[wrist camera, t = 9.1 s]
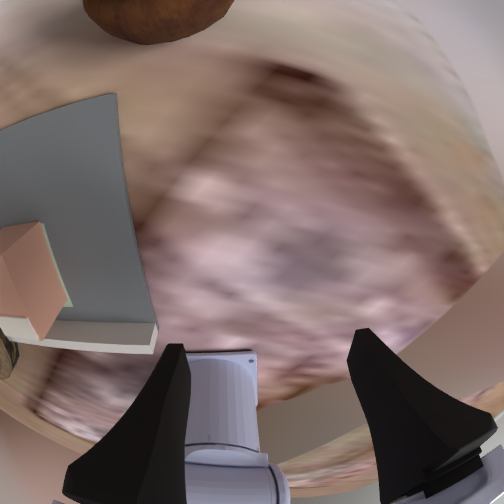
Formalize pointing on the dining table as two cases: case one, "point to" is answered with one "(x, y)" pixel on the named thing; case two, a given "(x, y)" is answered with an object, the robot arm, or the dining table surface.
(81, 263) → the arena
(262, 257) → the dining table surface
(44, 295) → the terracotta block
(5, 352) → the wooden log slice
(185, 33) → the wooden figurine
